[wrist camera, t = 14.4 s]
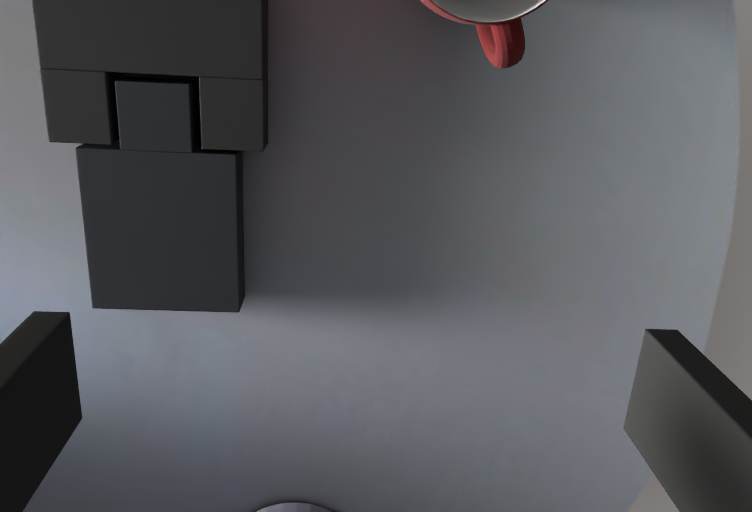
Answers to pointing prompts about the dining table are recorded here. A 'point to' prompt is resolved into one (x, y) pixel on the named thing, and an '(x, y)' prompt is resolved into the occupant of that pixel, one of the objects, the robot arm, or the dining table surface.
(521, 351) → the dining table surface
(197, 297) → the pad
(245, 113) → the base pad
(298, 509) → the container
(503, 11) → the mug
